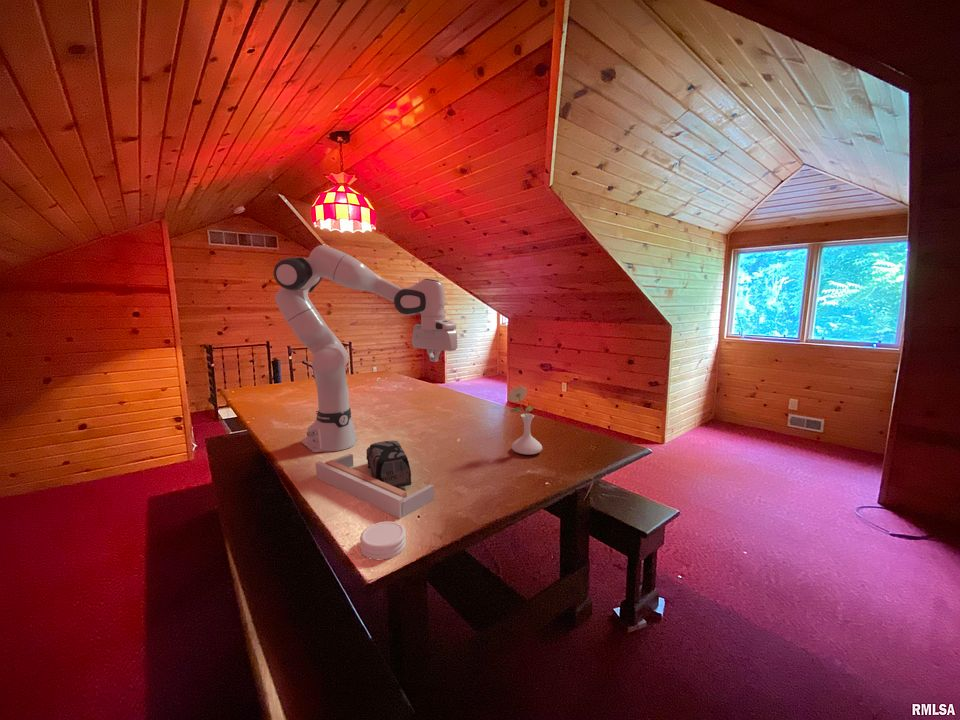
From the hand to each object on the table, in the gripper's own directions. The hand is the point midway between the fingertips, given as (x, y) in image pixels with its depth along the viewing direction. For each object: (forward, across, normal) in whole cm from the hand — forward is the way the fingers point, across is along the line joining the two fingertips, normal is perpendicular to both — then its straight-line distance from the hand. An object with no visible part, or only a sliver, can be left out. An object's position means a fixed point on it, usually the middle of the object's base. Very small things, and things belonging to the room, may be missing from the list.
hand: (434, 361), depth 143 cm
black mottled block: (+34, +5, -28) cm, 44 cm away
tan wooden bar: (+33, +8, -39) cm, 52 cm away
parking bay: (+33, +8, -36) cm, 49 cm away
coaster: (+34, +33, -52) cm, 70 cm away
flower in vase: (+33, +30, +16) cm, 48 cm away
